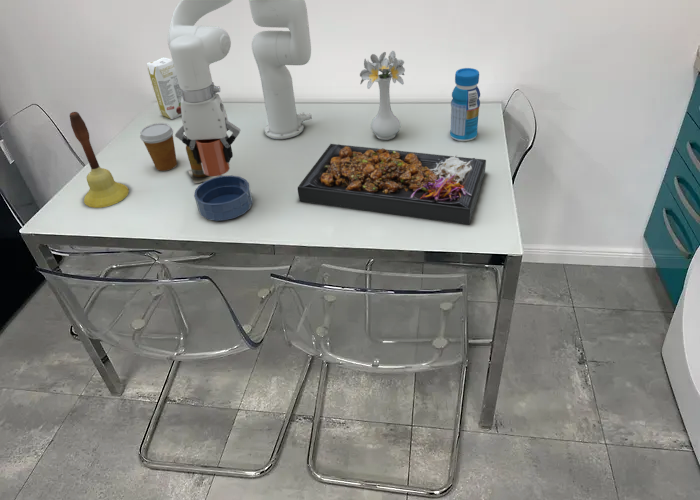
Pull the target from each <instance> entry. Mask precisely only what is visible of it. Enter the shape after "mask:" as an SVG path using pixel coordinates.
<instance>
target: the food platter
mask: <svg viewBox="0 0 700 500" xmlns="http://www.w3.org/2000/svg"><path fill="white" fill-rule="evenodd" d="M486 164H487V160H486V159H482V158H475V157H463V156H458V154H455V156H454V155H445V154H444V155H443V154H434V153H424V152H415V151H406V150H396V149H395V150H394V149H388V148H387V149H386V148H384V147H381V148H378V147H376V148H375V147H365V146H358V145H345V144H339V143H330V144H329V145H328V146H327V148H326V149H325V150H324V151H323V153H322V154H321V156H320V157H319V158H318V160H317V161H316V162H315V164H314V165H313V166H312V168H311V169H310V170H309V171H308V173H307V174H306V175H305V177H303V180H302V181H301V182H300V184H299V185H298V186H297V194H298V200H299V202H302V203H309V204H314V205H315V204H316V205H323V206H324V205H325V206H330V207H336V208H337V207H338V208H343V209H344V208H345V209H353V210H359V211H367V212H373V213H379V214H380V213H382V214H388V215H395V216H402V217H409V218H417V219H422V220H423V219H424V220H431V221H439V222H446V223H452V224H460V225H470V224H471V221H472V217H473V215H474V211H475V207H476V204H477V201H478V197H479V194H480V191H481V187H482V185H483V182H484V179H485V175H486V166H487V165H486Z"/></svg>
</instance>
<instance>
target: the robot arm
mask: <svg viewBox="0 0 700 500" xmlns="http://www.w3.org/2000/svg"><path fill="white" fill-rule="evenodd" d="M232 2H233V0H179V2H178V4H176V7H175V8H174V10H173V12H172V15H171V19H170V24H169V27H168V33H167V45H168V49H169V52H170V55H171V59H172V60H173V64H174V67H175V71H176V75H177V79H178V83H179V87H180V90H181V94H182V98H181V113H182V115H181V121H182V125H181V126H180V128H178V130H177V131H176V132H175V134H174V135H175V136H174V137H176V138H177V139H178V140H179V141H181V142H182V143H183V144H184V145H185V146H186V145H187V146H188V147H189V148H190V149H191V150H192V152H193V156H194V159H196V161H197V164H200V163H201V161H200V157H199V153H198V150H197V146H196V140H207V139H220V141H221V142H222V143H223V145H224V148H223V150H224V154H225V159H226V162H227V163H229V164H230V162H231V159H232V158H233V157H234V154H233V149H232V144H233V143H234V142H235V140H236V139H237V138H238V136H239V135H240V133H241V128H240V127H238V126H237V125H235V124H233V123H232V122H230V121H229V118H228V115H227V112H226V108H225V106H224V103H223V100H222V98H221V96H220V94H219V93H221V87H220V85H218V86H217V85H215V83H214V82H213V77H212V74H211V69H210V65H212V64H214V63H217V62H219V61H222V60H223V59H224V58H226V57H227V56H228V54H229V53H230V50H231V45H232V42H231V41H232V40H231V37H230V34H229V33H228V32H227V30H225V29H224V28H223V27H220V26H214V25H196V24H197V22H198V21H199V20H200V19H201V18H202V17H204V16H206V15H207V14H209V13H211V12H214V11H216V10H218V9H220V8H222V7H224V6H226V5H229V4H230V3H232ZM248 2H249V8H250V13H251V18H252V20H253V23H254V24H255V25H256V26H258V27H261V28H278V29H279V28H281V29H282V28H283V29H284V28H285V29H289V30H263V31H258V33H256V34H254V36H253V38H252V40H251V50H252V55H253V59H254V60H255V63H256V66H257V69H258V73H259V78H260V83H261V84H260V85H261V89H262V95H263V101H264V107H265V112H266V118H267V123H268V124H267V125H266V126H265V127H264V133H265V136H267V137H268V138H269V139H273V140H274V139H275V140H284V139H285V140H286V139H290V138H291V139H292V138H294V137H296V136H298V135H300V134H301V133H302V132H303V131H304V122H306V121H310V120H312V119H313V118H312V117H313V116H312V114H311V113H306V114H305V112H301V113H298V112H297V106H296V99H295V98H296V97H295V92H294V91H295V90H294V84H293V77H292V73H291V71H290V70H289V69H288V67H287V66H305V65H306V64H308V63H309V62H310V60H311V56H312V42H311V32H310V26H309V25H310V24H309V15H308V8H307V4H306V0H248ZM228 131H230V132H231V135H230V136H229V134H228V133H227V132H228Z"/></svg>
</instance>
